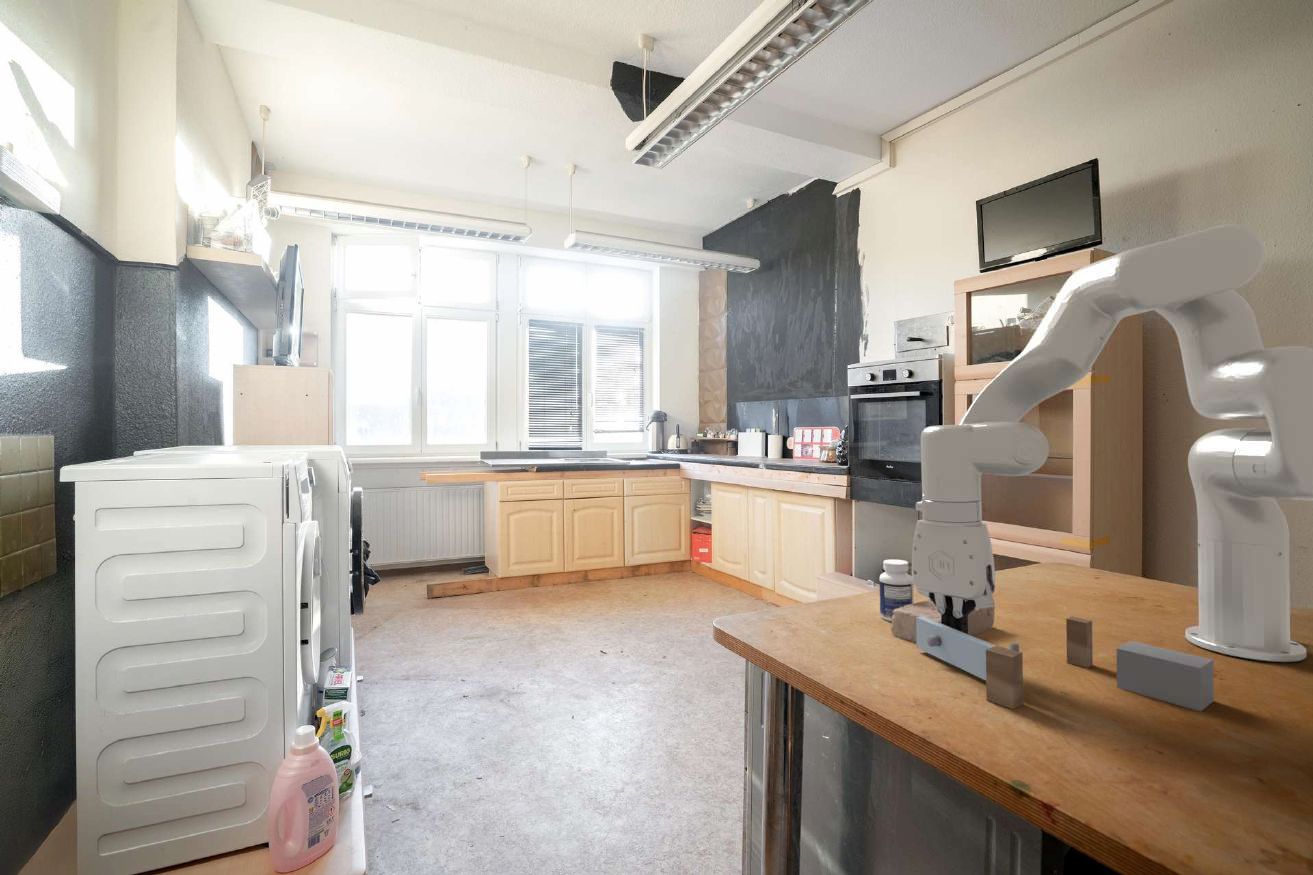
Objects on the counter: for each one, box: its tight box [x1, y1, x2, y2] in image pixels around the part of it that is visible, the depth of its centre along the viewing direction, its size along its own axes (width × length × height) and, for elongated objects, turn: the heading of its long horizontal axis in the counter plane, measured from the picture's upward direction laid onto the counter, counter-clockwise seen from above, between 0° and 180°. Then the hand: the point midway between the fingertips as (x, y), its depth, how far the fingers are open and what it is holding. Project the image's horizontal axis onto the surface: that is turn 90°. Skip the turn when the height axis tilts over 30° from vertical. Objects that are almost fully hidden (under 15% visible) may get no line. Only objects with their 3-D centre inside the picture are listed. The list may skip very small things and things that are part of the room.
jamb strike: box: [1065, 616, 1094, 668], centre depth 83 cm, size 2×2×6 cm
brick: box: [891, 597, 996, 644], centre depth 98 cm, size 17×8×5 cm, turn 124°
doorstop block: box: [1116, 640, 1215, 712], centre depth 73 cm, size 4×8×5 cm, turn 34°
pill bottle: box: [879, 559, 914, 623], centre depth 105 cm, size 5×5×10 cm
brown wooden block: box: [985, 645, 1024, 710], centre depth 72 cm, size 2×3×6 cm
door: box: [916, 617, 1020, 681], centre depth 81 cm, size 17×2×6 cm, turn 16°
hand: (955, 642), depth 86 cm, fingers closed
